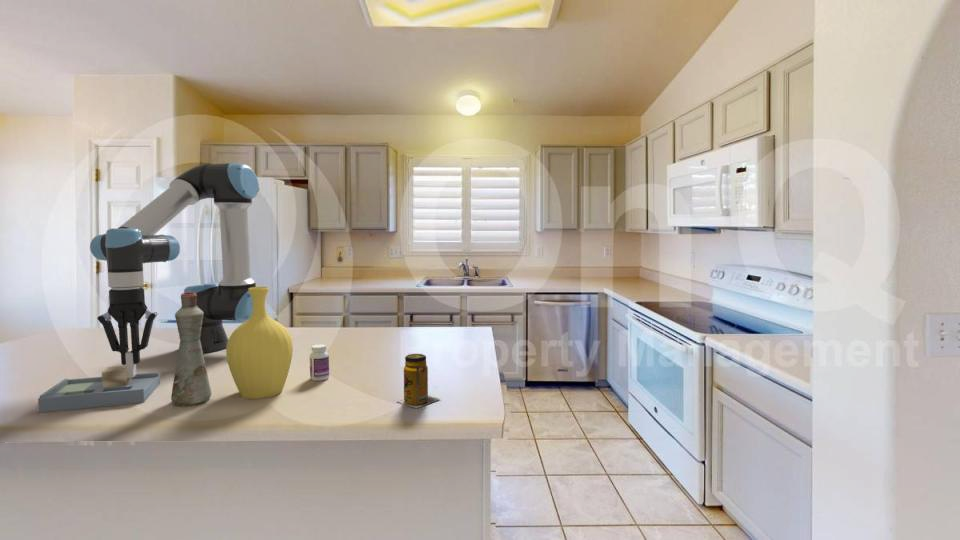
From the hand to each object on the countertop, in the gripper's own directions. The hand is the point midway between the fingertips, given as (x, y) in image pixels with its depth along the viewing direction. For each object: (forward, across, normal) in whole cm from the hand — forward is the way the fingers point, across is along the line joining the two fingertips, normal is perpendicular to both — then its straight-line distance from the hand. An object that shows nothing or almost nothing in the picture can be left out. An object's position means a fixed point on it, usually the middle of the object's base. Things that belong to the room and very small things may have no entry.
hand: (131, 375), depth 130 cm
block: (+2, +3, 0) cm, 4 cm away
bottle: (+4, -16, +14) cm, 22 cm away
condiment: (+5, -70, +32) cm, 77 cm away
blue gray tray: (+4, +5, +3) cm, 7 cm away
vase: (+4, -32, +12) cm, 34 cm away
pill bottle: (+4, -47, +5) cm, 48 cm away
